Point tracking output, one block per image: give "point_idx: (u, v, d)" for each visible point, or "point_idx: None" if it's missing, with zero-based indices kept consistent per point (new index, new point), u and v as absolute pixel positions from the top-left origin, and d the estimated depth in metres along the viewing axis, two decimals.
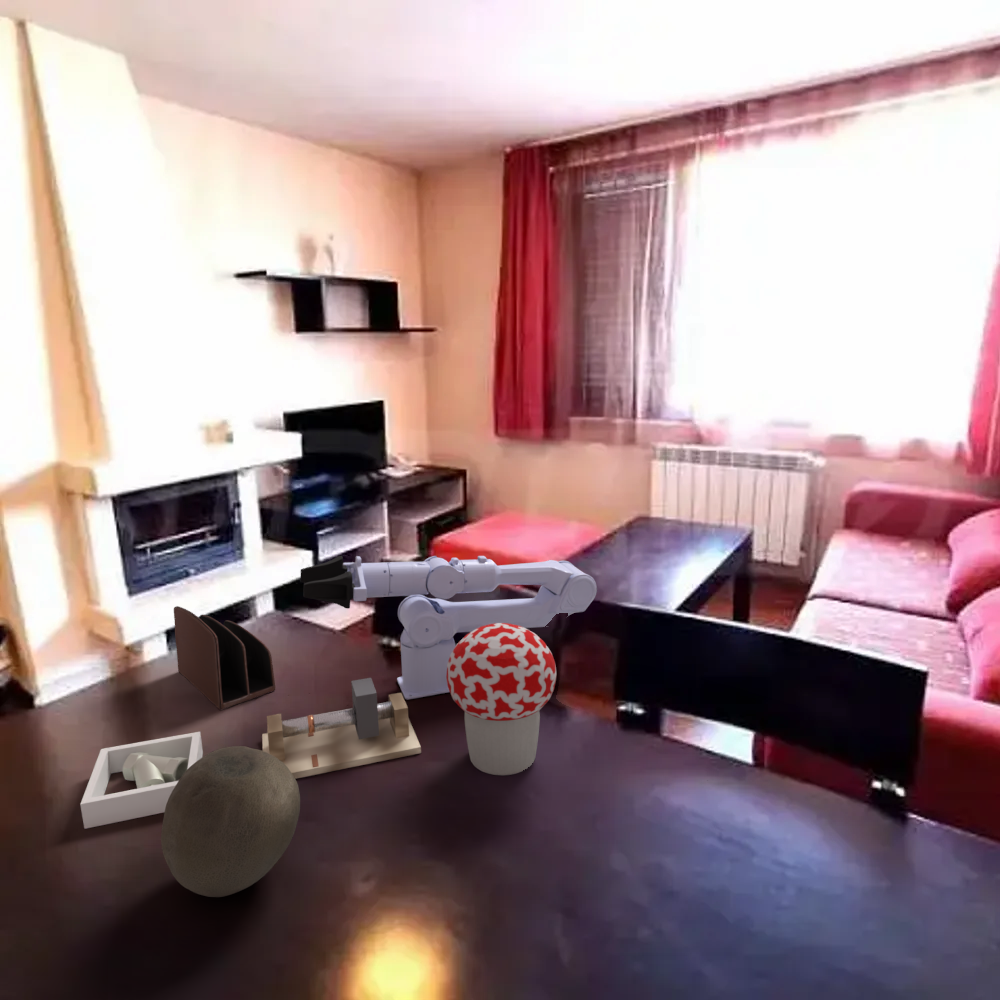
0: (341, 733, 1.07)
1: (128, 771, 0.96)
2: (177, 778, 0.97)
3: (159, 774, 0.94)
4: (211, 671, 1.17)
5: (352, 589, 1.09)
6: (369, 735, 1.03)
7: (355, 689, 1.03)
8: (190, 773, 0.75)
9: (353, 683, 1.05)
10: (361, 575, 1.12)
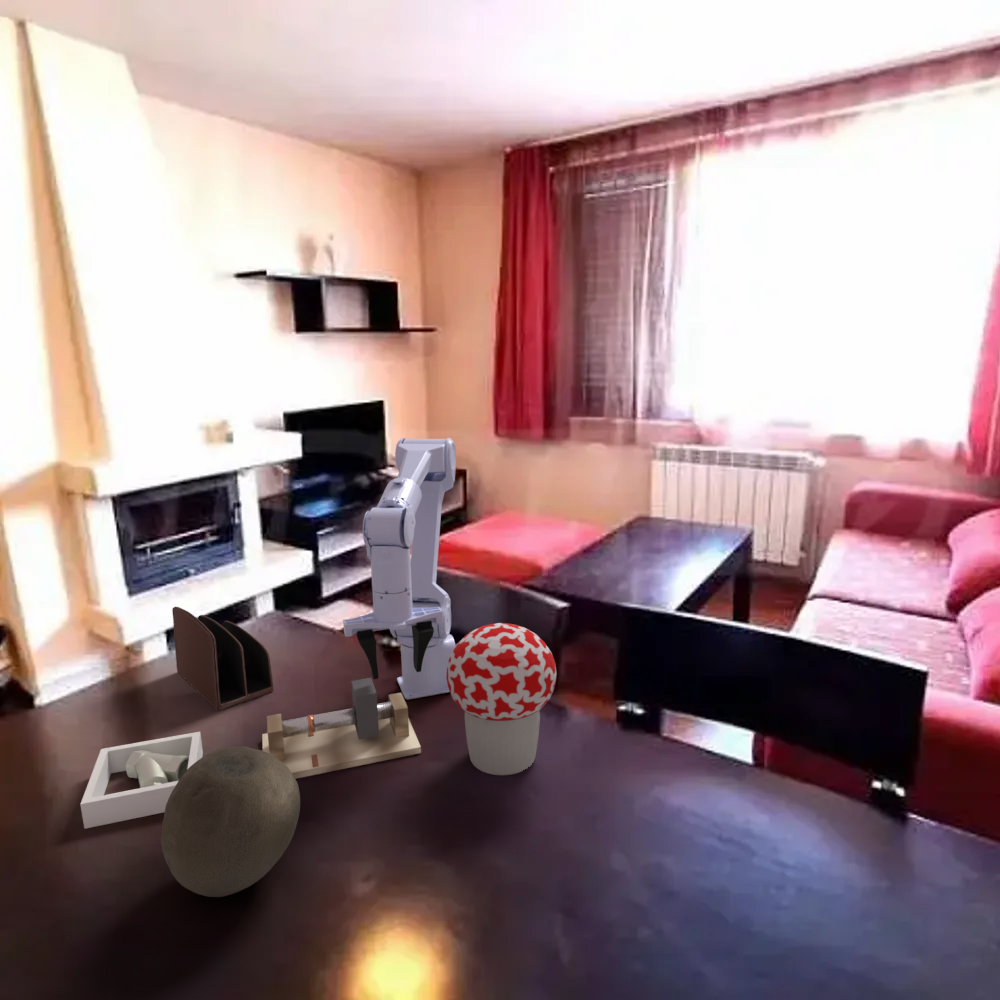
0: (341, 733, 1.07)
1: (131, 769, 0.97)
2: (180, 776, 0.98)
3: (162, 772, 0.95)
4: (209, 671, 1.16)
5: (435, 623, 1.05)
6: (369, 735, 1.03)
7: (355, 689, 1.03)
8: (190, 773, 0.75)
9: (353, 683, 1.05)
10: (419, 618, 1.03)
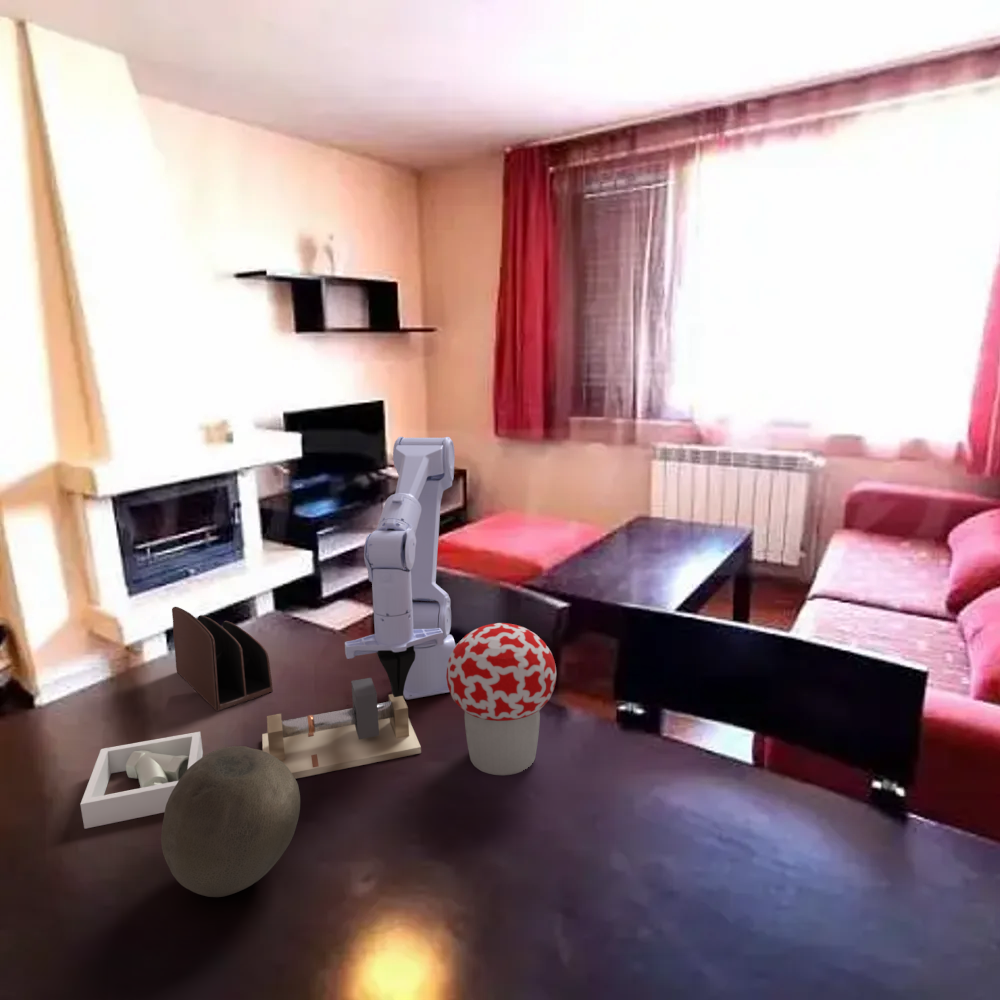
0: (341, 733, 1.07)
1: (131, 769, 0.97)
2: (180, 776, 0.98)
3: (162, 772, 0.95)
4: (208, 672, 1.16)
5: (436, 645, 1.06)
6: (369, 735, 1.03)
7: (355, 689, 1.03)
8: (190, 773, 0.75)
9: (353, 683, 1.05)
10: (420, 640, 1.04)
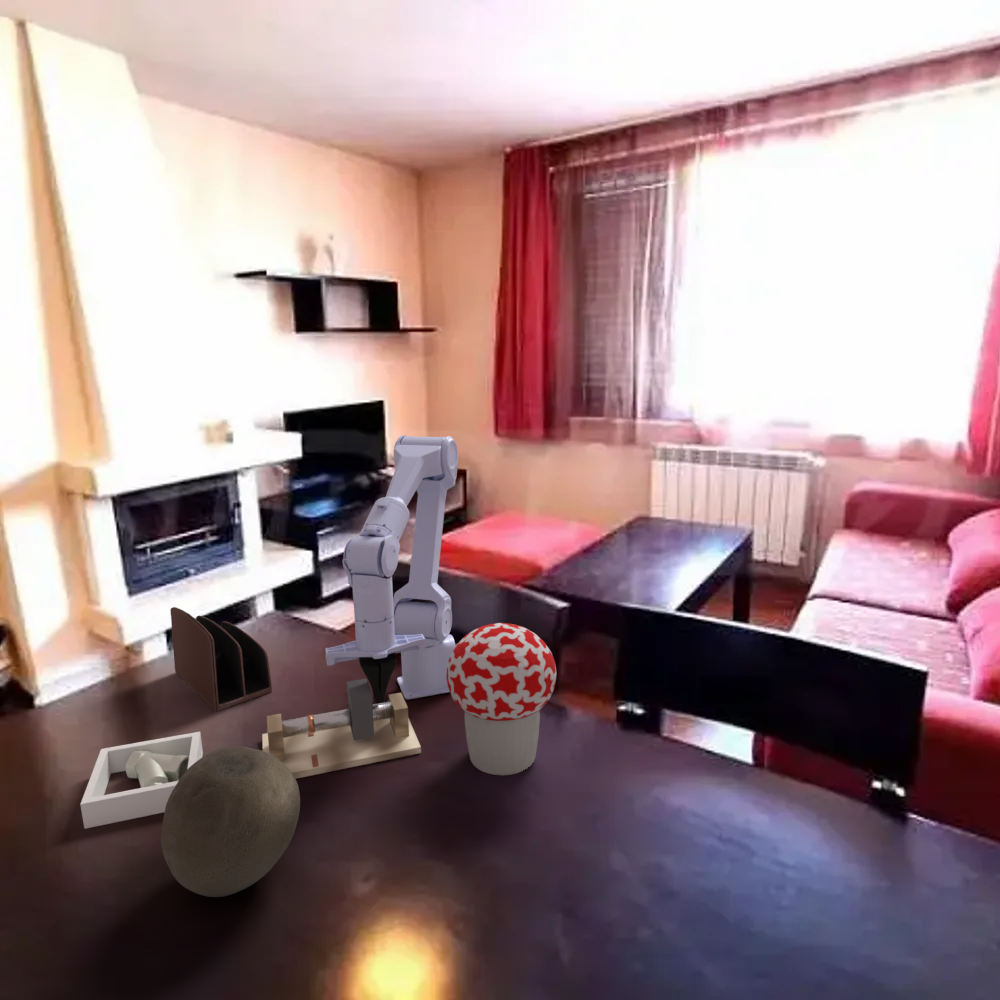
0: (341, 733, 1.07)
1: (131, 769, 0.97)
2: (180, 776, 0.98)
3: (162, 772, 0.95)
4: (207, 672, 1.16)
5: (418, 651, 1.05)
6: (364, 736, 1.03)
7: (350, 690, 1.03)
8: (190, 773, 0.75)
9: (348, 684, 1.05)
10: (402, 646, 1.03)
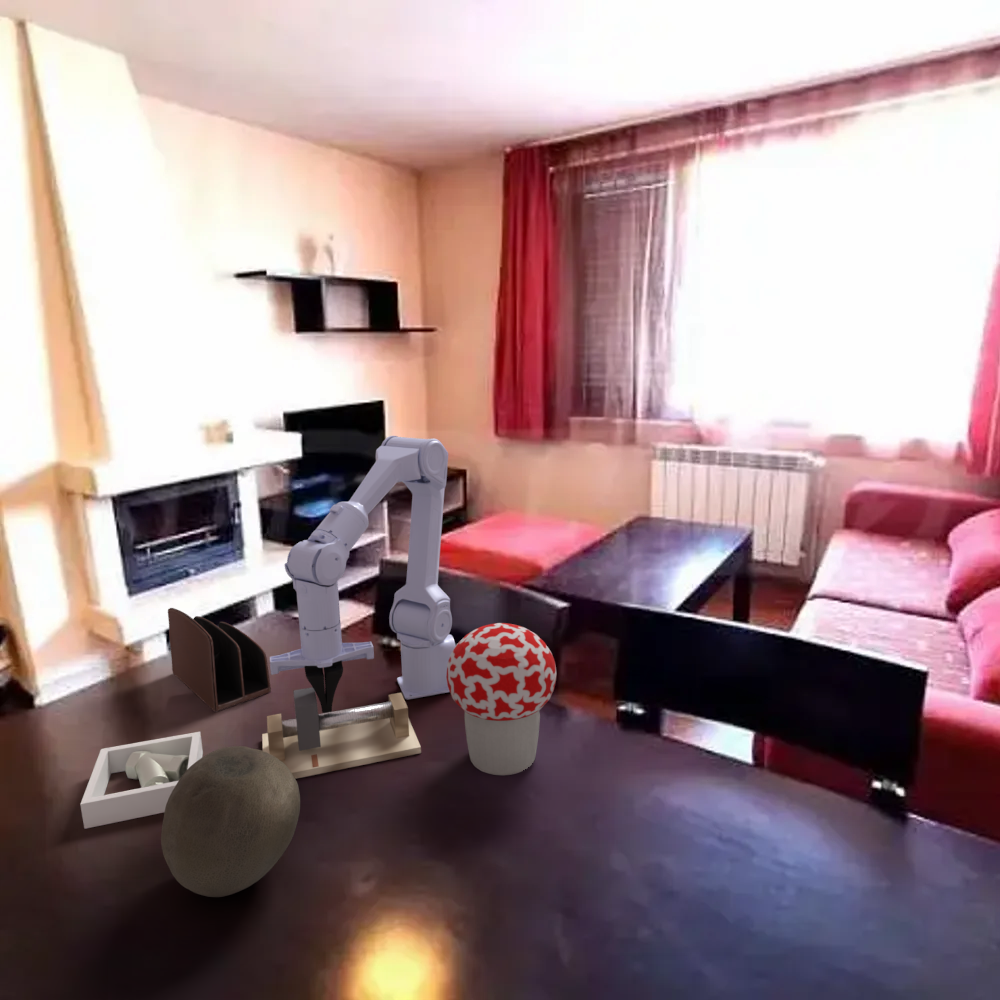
0: (341, 733, 1.07)
1: (131, 769, 0.97)
2: (180, 776, 0.98)
3: (163, 772, 0.95)
4: (206, 672, 1.16)
5: None
6: (310, 746, 1.01)
7: (296, 699, 1.01)
8: (190, 773, 0.75)
9: (295, 693, 1.03)
10: (348, 655, 1.00)
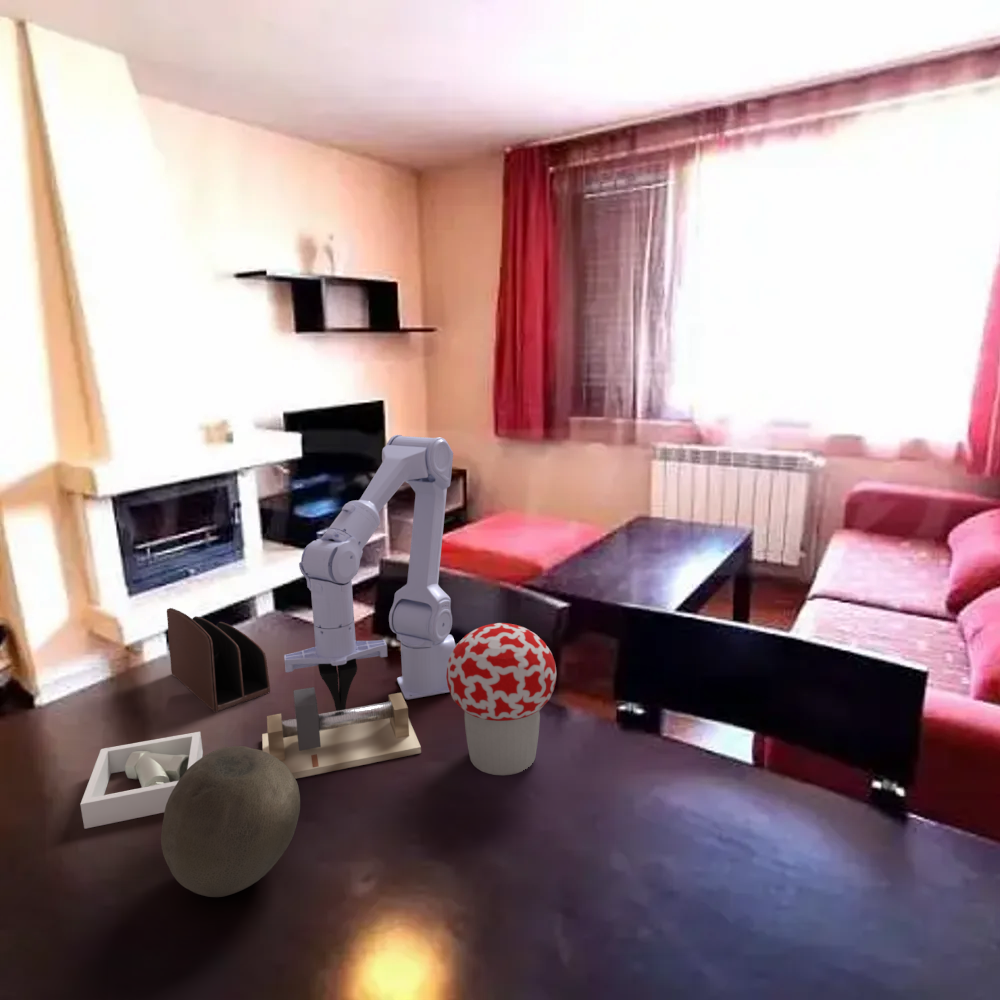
0: (341, 733, 1.07)
1: (131, 769, 0.96)
2: (180, 775, 0.98)
3: (163, 771, 0.95)
4: (206, 673, 1.16)
5: None
6: (310, 746, 1.01)
7: (296, 699, 1.01)
8: (190, 773, 0.75)
9: (295, 693, 1.03)
10: (362, 653, 1.01)
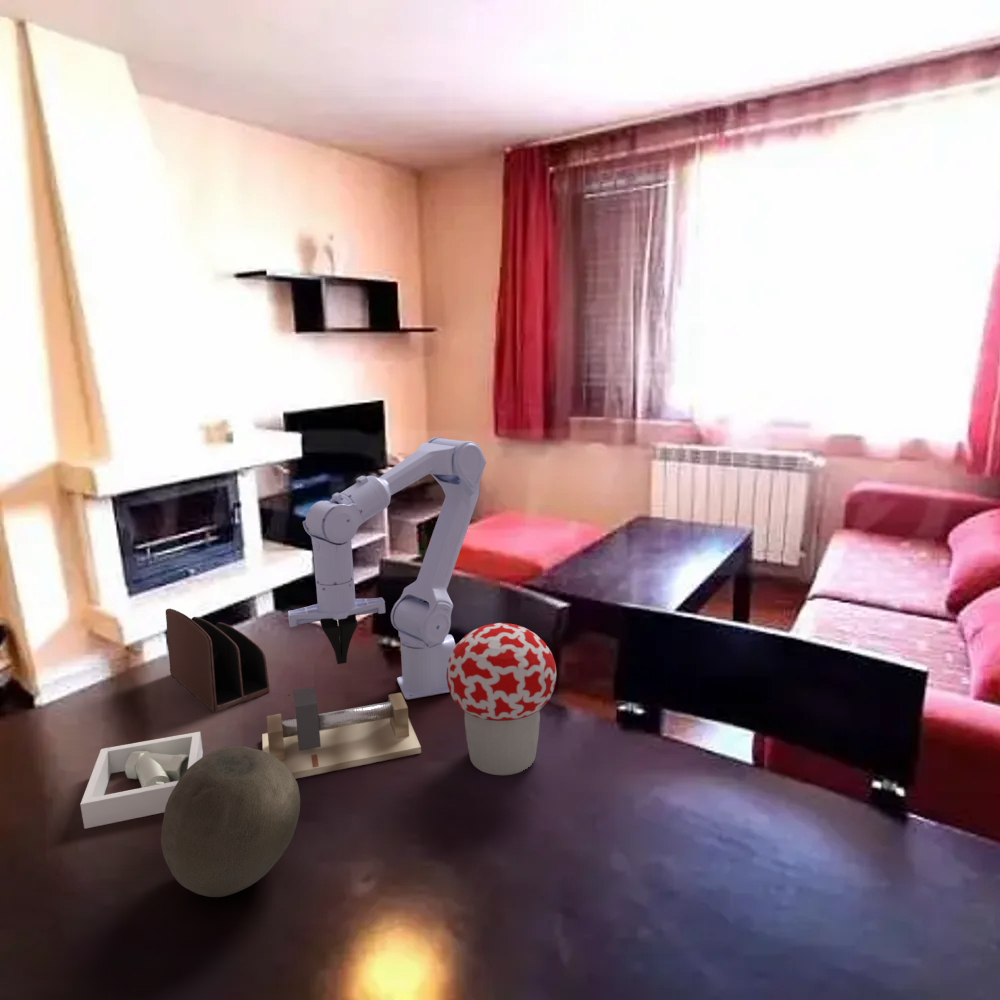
0: (341, 733, 1.07)
1: (131, 769, 0.96)
2: (180, 775, 0.98)
3: (163, 771, 0.95)
4: (205, 673, 1.16)
5: None
6: (310, 746, 1.01)
7: (296, 699, 1.01)
8: (190, 773, 0.75)
9: (295, 693, 1.03)
10: (361, 609, 1.07)
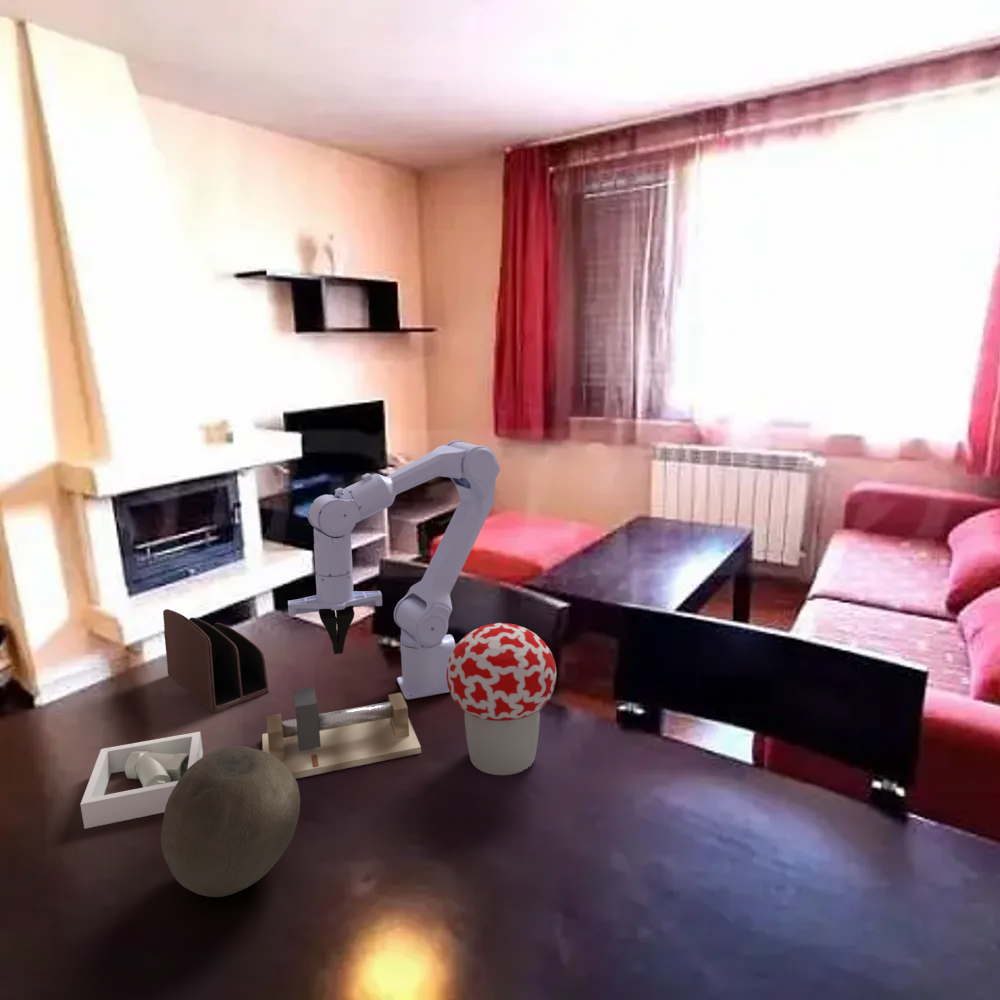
0: (341, 733, 1.07)
1: (131, 769, 0.96)
2: (180, 774, 0.98)
3: (164, 770, 0.95)
4: (204, 674, 1.16)
5: None
6: (310, 746, 1.01)
7: (296, 699, 1.01)
8: (190, 773, 0.75)
9: (295, 693, 1.03)
10: (359, 600, 1.11)
